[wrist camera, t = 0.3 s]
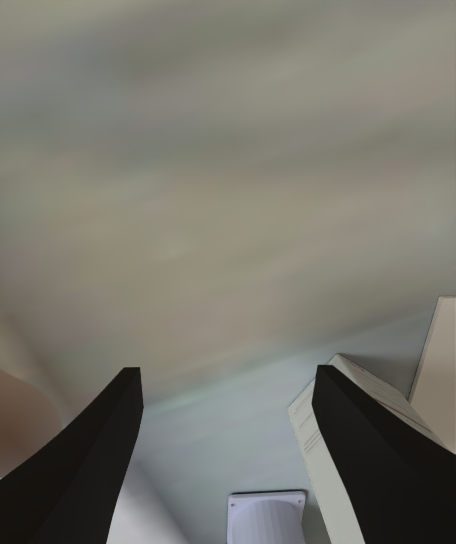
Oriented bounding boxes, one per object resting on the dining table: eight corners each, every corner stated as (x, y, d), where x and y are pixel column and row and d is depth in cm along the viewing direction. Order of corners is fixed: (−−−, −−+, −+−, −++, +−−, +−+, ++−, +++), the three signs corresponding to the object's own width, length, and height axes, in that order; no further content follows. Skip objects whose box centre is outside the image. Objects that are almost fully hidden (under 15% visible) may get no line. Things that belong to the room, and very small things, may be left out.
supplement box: (342, 438, 27) (445, 645, 15) (284, 407, 25) (349, 615, 14) (397, 386, 25) (562, 575, 13) (338, 349, 24) (467, 529, 12)
